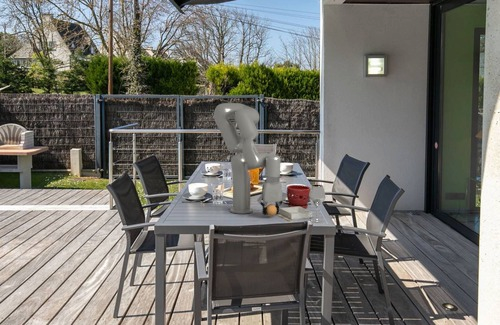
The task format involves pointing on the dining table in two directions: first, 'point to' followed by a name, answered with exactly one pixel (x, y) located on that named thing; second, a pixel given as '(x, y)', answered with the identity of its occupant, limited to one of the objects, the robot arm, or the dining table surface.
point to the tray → (295, 213)
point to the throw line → (284, 218)
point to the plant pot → (298, 196)
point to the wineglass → (317, 198)
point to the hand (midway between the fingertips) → (270, 213)
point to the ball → (271, 210)
